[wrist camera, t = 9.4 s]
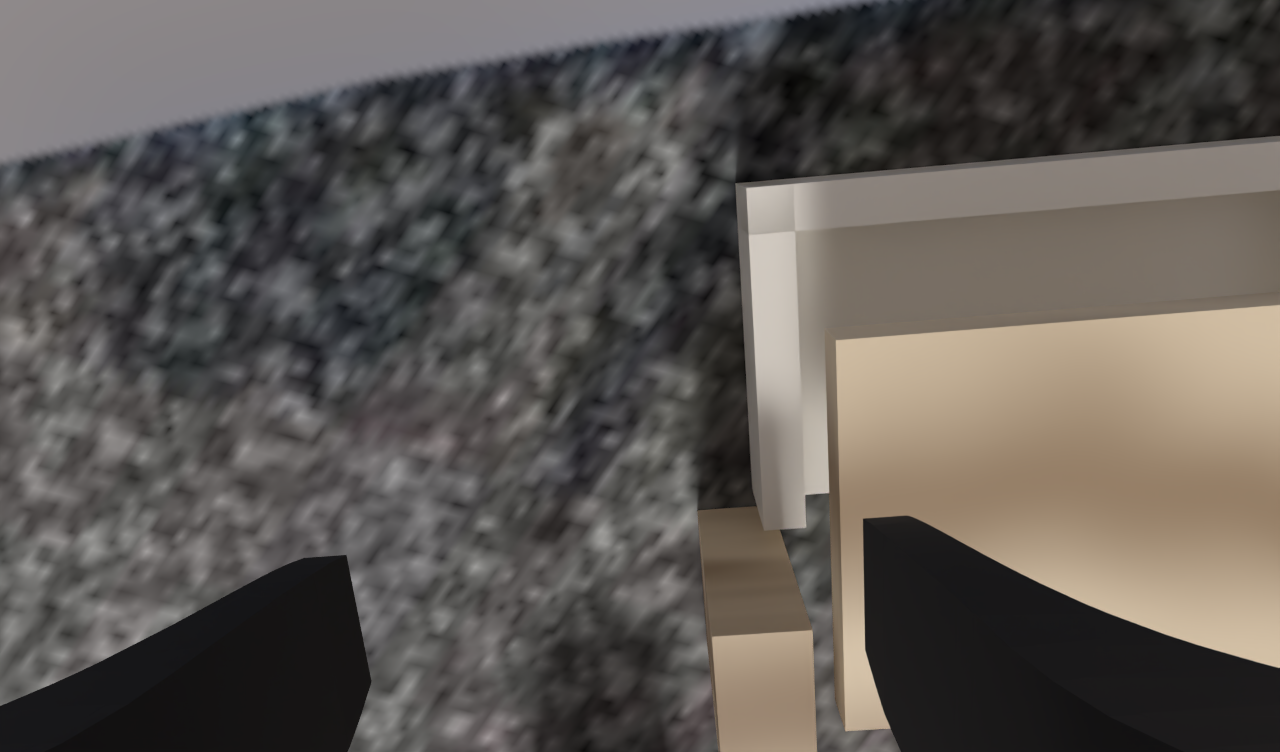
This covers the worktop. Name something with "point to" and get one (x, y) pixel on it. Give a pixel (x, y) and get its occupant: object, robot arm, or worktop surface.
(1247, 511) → the trapdoor
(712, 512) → the trapdoor posts
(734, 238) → the worktop surface
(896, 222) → the tray
